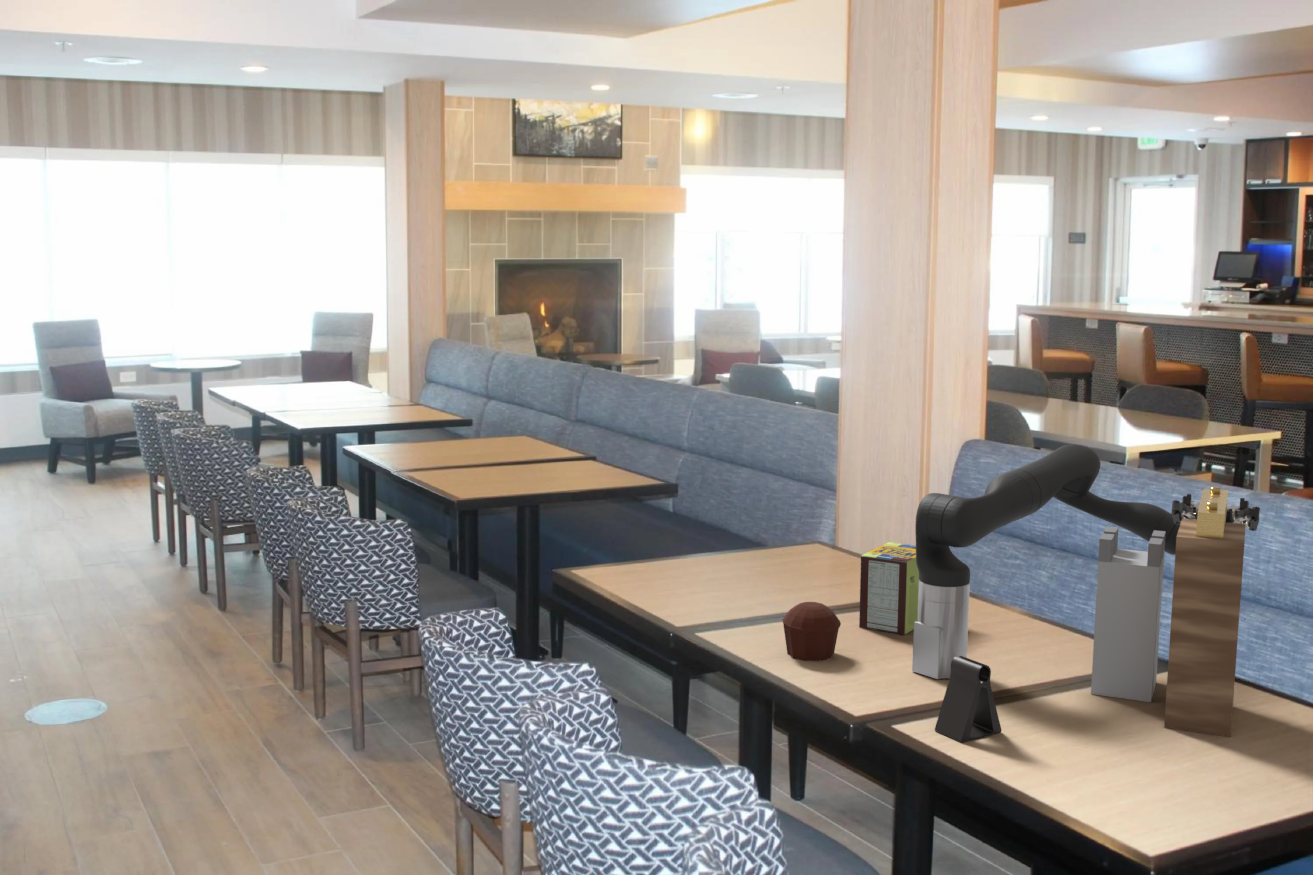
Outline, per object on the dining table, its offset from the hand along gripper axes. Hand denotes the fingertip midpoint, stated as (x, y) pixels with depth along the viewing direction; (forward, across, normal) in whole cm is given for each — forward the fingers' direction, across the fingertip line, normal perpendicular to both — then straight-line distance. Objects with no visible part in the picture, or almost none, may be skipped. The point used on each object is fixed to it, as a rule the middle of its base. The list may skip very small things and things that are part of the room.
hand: (1215, 501), depth 225 cm
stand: (-6, 0, +36) cm, 37 cm away
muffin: (-10, -70, +35) cm, 78 cm away
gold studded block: (+5, 0, +6) cm, 8 cm away
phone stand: (+14, -34, +49) cm, 61 cm away
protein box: (-35, -60, +20) cm, 73 cm away
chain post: (-15, -13, +31) cm, 37 cm away
